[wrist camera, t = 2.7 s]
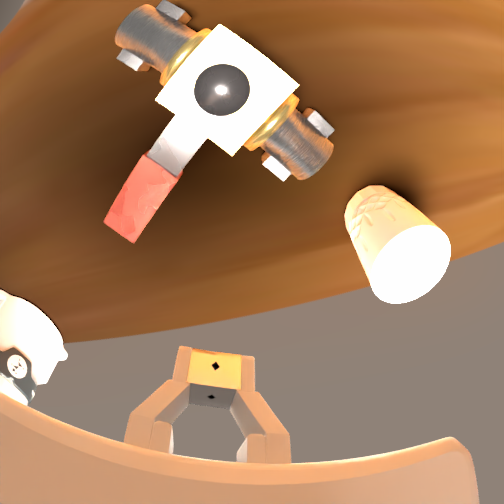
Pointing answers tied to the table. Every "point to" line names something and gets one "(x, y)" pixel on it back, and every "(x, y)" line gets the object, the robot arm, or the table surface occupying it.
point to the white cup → (395, 244)
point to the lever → (177, 147)
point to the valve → (261, 84)
